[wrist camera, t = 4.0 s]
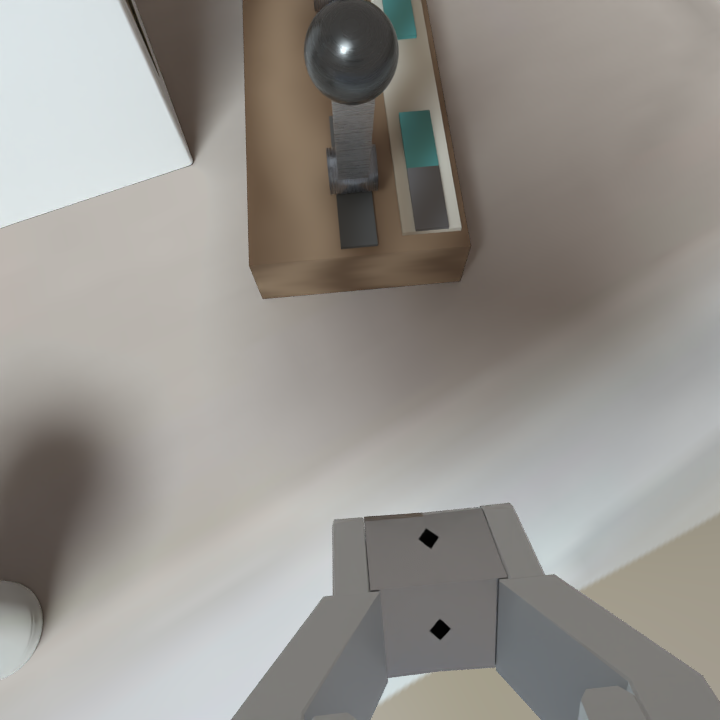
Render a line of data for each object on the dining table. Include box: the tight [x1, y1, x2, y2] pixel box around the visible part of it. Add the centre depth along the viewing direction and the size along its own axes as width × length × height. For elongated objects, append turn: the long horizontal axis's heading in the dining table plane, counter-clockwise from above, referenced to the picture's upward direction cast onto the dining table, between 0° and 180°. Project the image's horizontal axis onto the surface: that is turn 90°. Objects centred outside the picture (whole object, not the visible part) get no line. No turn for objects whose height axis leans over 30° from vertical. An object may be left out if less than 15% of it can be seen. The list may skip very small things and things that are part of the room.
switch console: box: [243, 0, 471, 299], centre depth 36 cm, size 12×24×4 cm, turn 5°
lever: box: [304, 0, 399, 195], centre depth 24 cm, size 3×3×14 cm
